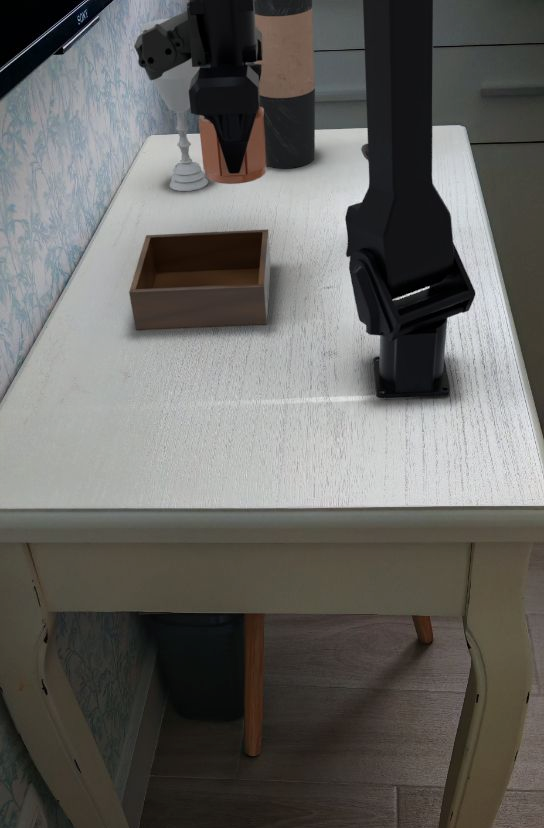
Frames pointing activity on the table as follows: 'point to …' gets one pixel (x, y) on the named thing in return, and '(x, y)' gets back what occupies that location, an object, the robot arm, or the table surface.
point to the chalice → (180, 119)
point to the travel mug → (287, 81)
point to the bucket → (253, 158)
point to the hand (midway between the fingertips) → (235, 160)
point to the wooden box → (202, 280)
